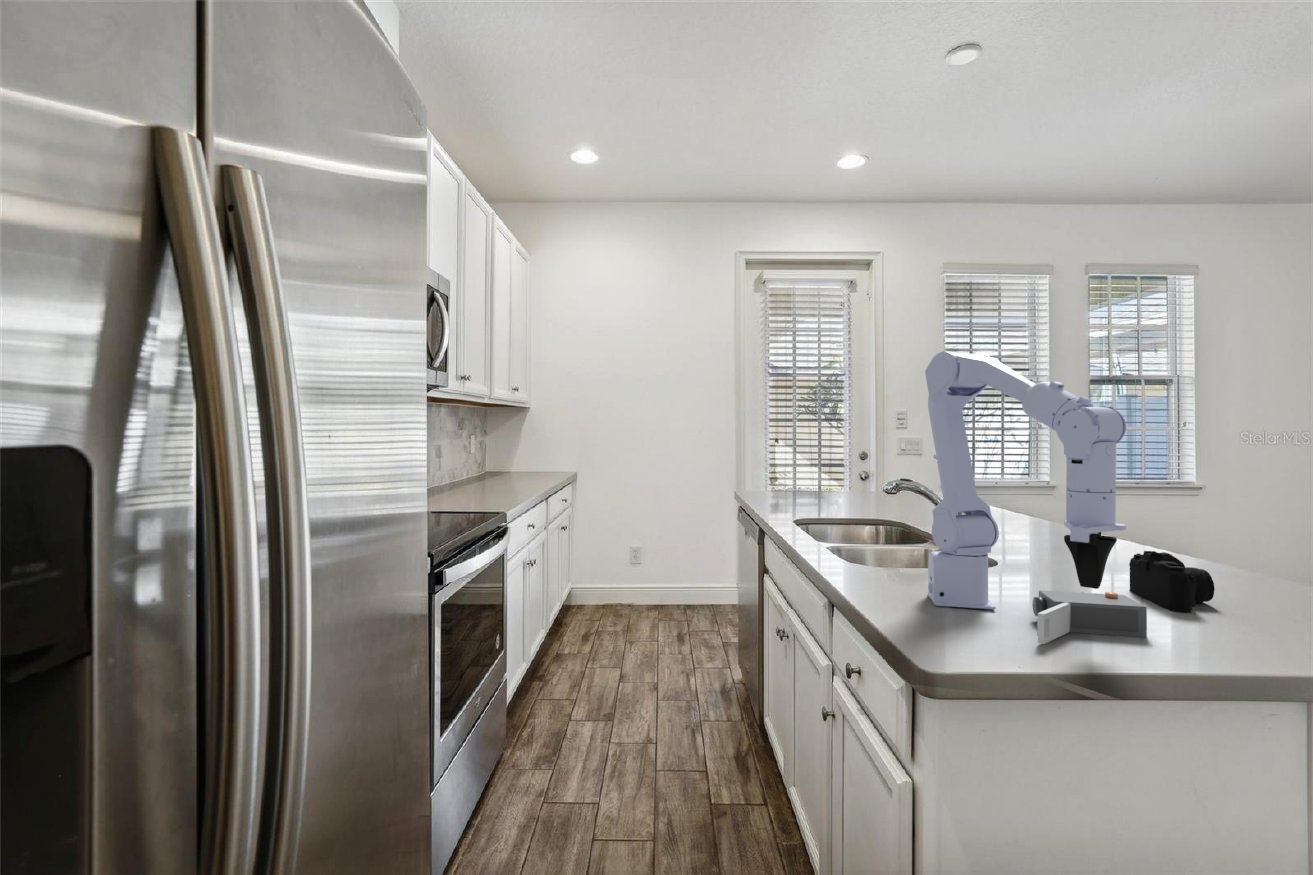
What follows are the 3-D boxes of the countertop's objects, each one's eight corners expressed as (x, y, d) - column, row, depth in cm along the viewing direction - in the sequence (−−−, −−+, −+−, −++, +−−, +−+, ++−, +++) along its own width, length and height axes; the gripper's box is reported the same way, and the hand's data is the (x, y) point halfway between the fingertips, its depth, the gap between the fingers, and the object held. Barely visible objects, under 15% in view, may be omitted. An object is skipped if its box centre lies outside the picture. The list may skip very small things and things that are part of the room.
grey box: (1046, 630, 94) (1045, 597, 94) (1030, 617, 100) (1030, 586, 100) (1147, 637, 90) (1147, 603, 90) (1124, 623, 97) (1123, 591, 97)
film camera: (1237, 616, 101) (1236, 562, 101) (1169, 613, 103) (1169, 560, 103) (1179, 594, 116) (1179, 546, 116) (1121, 591, 118) (1121, 544, 118)
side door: (1064, 629, 93) (1064, 601, 93) (1072, 631, 92) (1072, 603, 92) (1036, 642, 87) (1036, 612, 87) (1045, 644, 86) (1045, 614, 86)
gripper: (1116, 496, 79) (1115, 602, 79) (1134, 489, 89) (1133, 583, 89) (1052, 493, 84) (1052, 592, 84) (1076, 486, 94) (1075, 575, 94)
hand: (1089, 586), depth 87 cm, fingers closed
